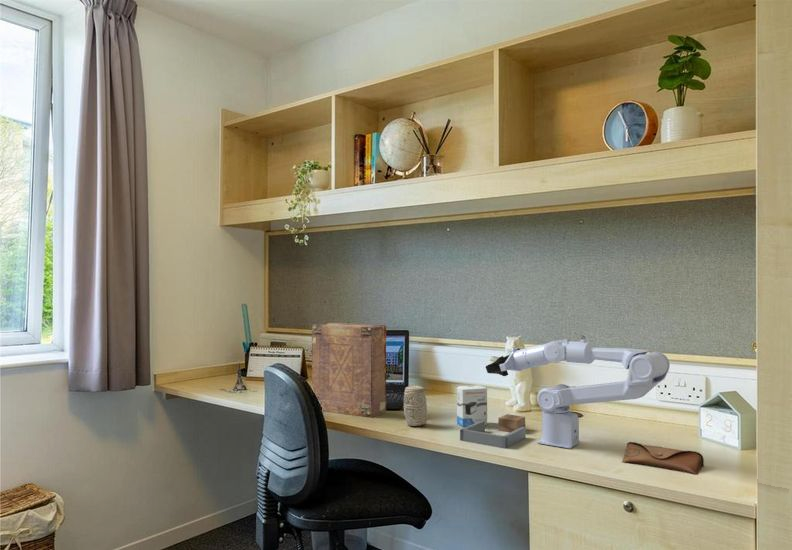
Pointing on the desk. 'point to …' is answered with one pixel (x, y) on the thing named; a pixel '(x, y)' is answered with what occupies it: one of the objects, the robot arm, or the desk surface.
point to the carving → (415, 406)
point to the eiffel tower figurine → (238, 384)
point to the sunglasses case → (663, 458)
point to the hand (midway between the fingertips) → (494, 366)
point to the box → (490, 436)
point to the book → (349, 368)
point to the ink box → (471, 405)
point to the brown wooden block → (510, 423)
